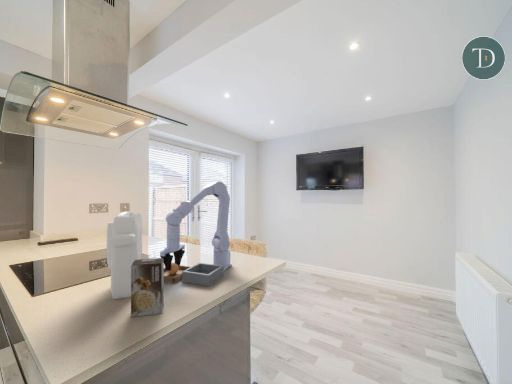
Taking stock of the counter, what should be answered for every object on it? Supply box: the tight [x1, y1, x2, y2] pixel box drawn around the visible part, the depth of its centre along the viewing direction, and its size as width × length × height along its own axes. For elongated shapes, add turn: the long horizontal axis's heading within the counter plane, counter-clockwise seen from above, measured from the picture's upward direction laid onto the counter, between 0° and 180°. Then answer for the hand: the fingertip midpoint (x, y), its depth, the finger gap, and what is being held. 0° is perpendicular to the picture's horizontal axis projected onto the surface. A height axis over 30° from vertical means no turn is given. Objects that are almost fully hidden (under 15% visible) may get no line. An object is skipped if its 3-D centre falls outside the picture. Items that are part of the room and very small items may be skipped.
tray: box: [164, 264, 191, 285], centre depth 104 cm, size 15×13×2 cm
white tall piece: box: [106, 211, 143, 300], centre depth 90 cm, size 27×11×30 cm, turn 21°
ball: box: [167, 262, 179, 274], centre depth 104 cm, size 5×5×5 cm
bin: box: [181, 262, 224, 287], centre depth 101 cm, size 13×13×4 cm
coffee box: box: [130, 257, 165, 318], centre depth 73 cm, size 9×6×16 cm
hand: (172, 268), depth 104 cm, fingers open, 6 cm apart
